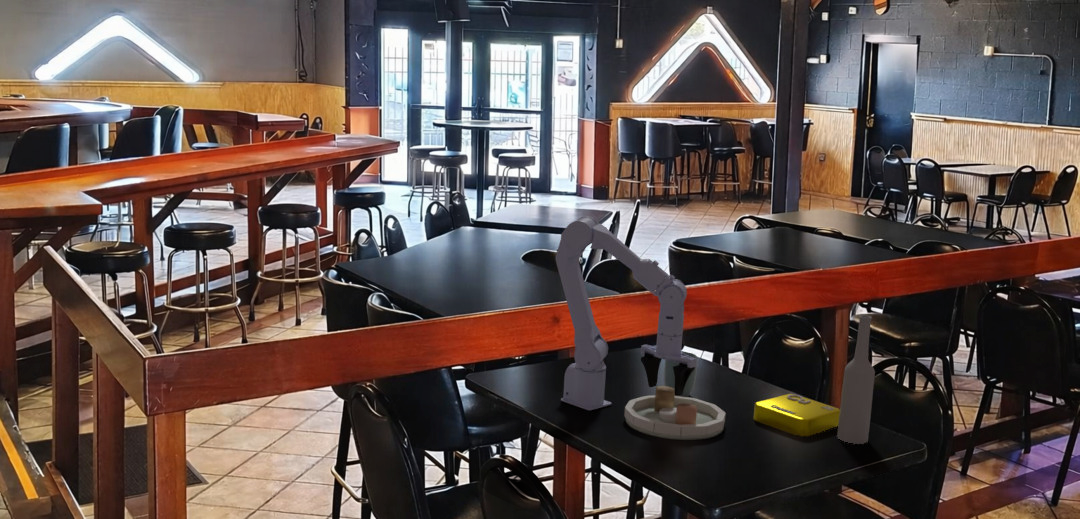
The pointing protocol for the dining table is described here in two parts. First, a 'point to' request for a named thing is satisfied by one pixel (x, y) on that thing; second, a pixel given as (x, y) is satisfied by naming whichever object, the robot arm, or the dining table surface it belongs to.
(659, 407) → the maple bead
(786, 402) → the element tile
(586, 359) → the robot arm
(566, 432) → the dining table surface
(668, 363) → the cup
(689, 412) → the terracotta bead
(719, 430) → the groove tray
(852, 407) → the bottle
